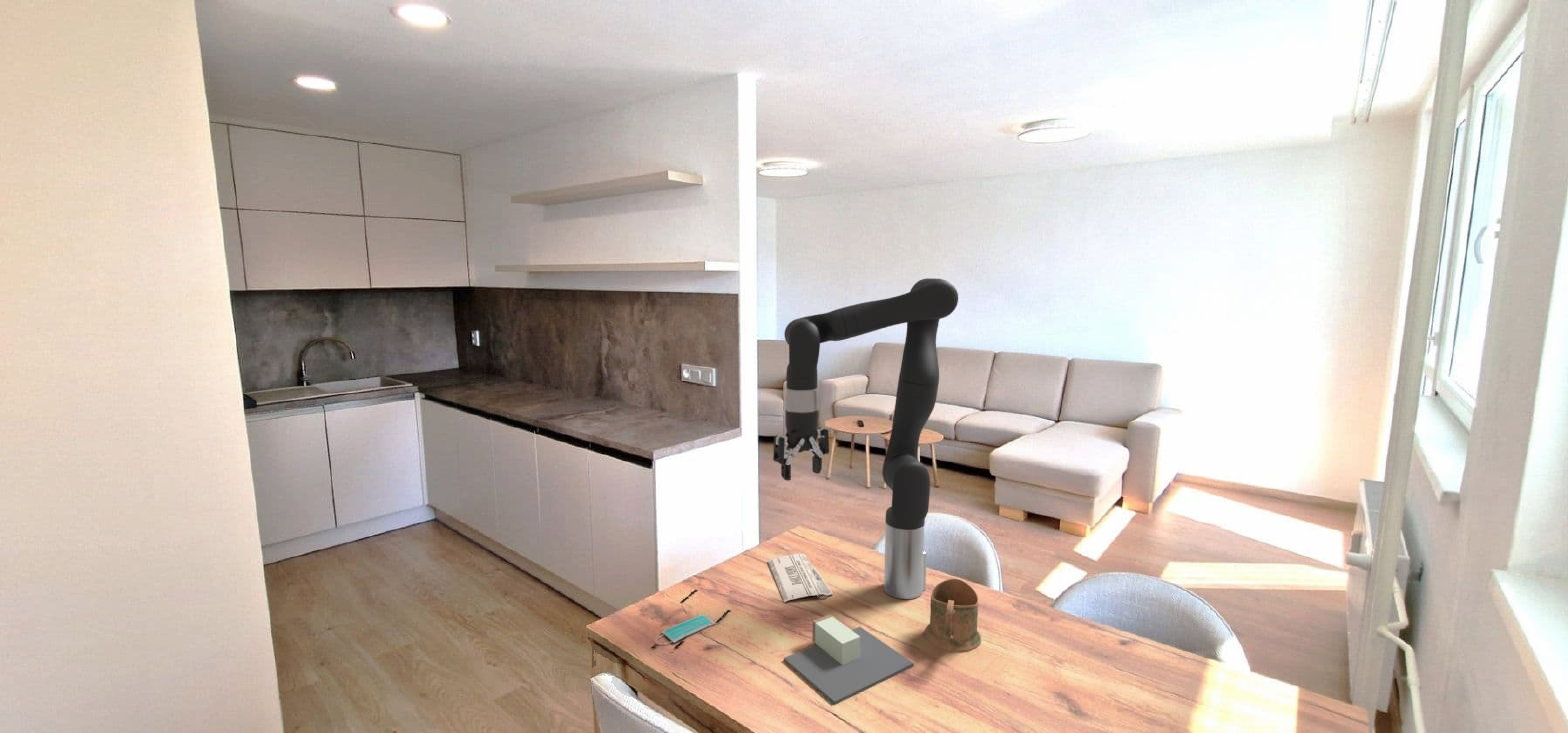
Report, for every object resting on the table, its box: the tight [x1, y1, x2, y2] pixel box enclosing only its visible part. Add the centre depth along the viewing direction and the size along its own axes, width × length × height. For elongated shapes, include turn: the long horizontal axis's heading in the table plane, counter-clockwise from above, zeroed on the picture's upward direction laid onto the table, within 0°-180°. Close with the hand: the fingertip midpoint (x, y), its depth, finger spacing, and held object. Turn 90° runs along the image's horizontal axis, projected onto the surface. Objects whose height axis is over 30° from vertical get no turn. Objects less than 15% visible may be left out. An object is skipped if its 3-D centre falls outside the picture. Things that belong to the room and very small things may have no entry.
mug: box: [924, 578, 982, 653], centre depth 134 cm, size 12×18×12 cm, turn 160°
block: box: [811, 614, 860, 665], centre depth 131 cm, size 4×4×10 cm
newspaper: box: [767, 553, 834, 604], centre depth 163 cm, size 23×12×2 cm, turn 12°
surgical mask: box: [650, 589, 732, 650], centre depth 140 cm, size 21×4×10 cm
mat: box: [783, 626, 915, 705], centre depth 128 cm, size 20×16×1 cm
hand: (801, 476), depth 149 cm, fingers open, 8 cm apart
